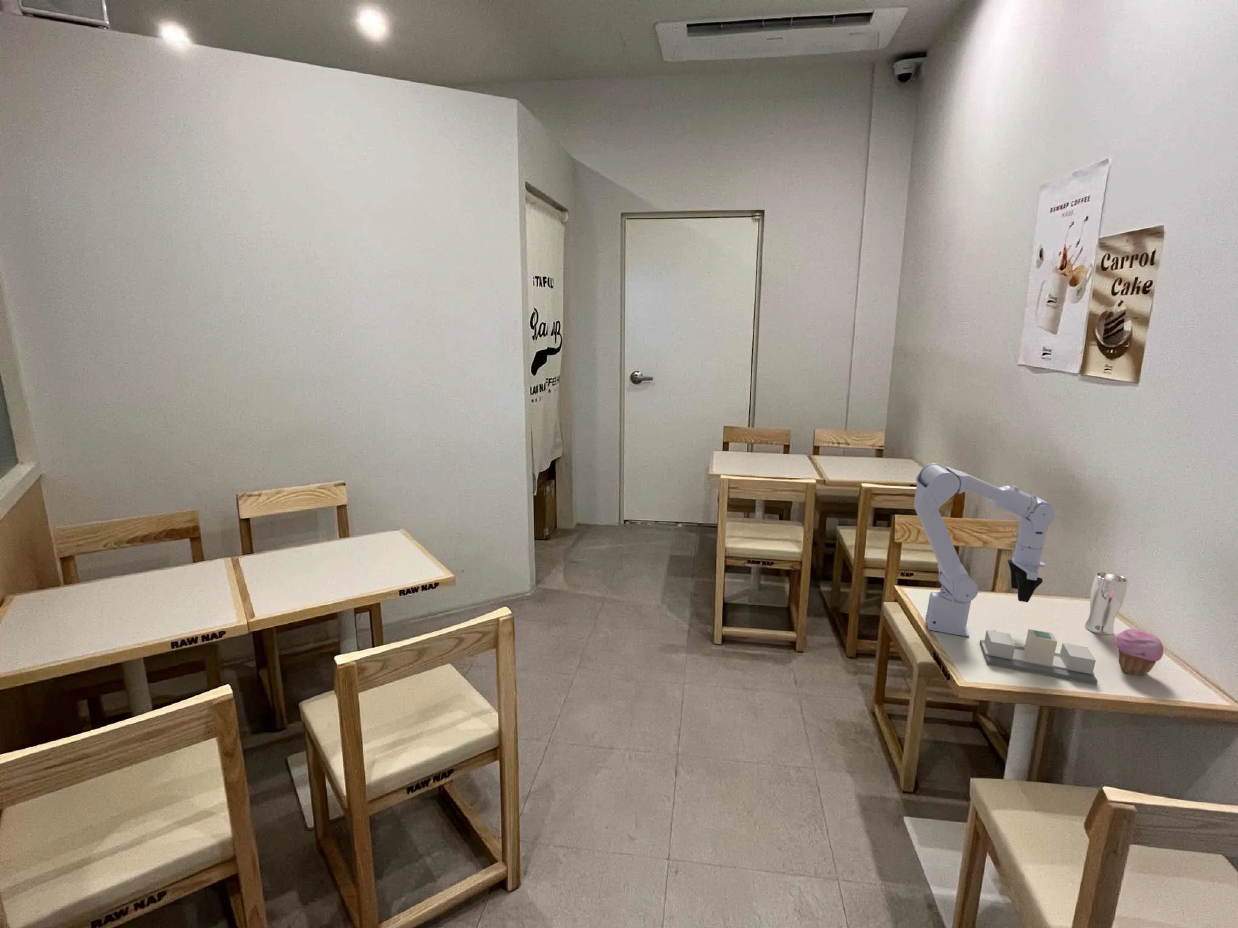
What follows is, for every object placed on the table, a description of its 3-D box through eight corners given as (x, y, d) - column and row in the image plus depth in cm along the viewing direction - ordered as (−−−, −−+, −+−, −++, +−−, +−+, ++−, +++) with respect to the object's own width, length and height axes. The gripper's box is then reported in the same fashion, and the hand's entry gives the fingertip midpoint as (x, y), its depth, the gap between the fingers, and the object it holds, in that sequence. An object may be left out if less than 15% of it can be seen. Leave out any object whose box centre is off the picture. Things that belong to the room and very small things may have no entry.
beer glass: (1086, 632, 168) (1099, 579, 164) (1079, 620, 174) (1091, 569, 170) (1119, 638, 165) (1132, 585, 161) (1110, 626, 172) (1123, 574, 168)
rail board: (986, 663, 152) (990, 645, 151) (979, 643, 161) (982, 625, 160) (1096, 684, 145) (1101, 665, 144) (1082, 661, 154) (1087, 643, 153)
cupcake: (1104, 656, 157) (1114, 619, 154) (1148, 665, 154) (1158, 627, 151) (1116, 676, 149) (1126, 637, 146) (1162, 685, 146) (1174, 645, 143)
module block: (1027, 659, 152) (1032, 636, 150) (1023, 651, 156) (1028, 628, 154) (1052, 664, 150) (1057, 640, 149) (1047, 655, 154) (1052, 632, 152)
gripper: (1056, 558, 154) (1045, 609, 157) (1040, 537, 167) (1030, 585, 170) (1022, 553, 156) (1012, 604, 159) (1009, 533, 169) (1000, 581, 173)
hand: (1019, 594), depth 165 cm, fingers open, 7 cm apart
